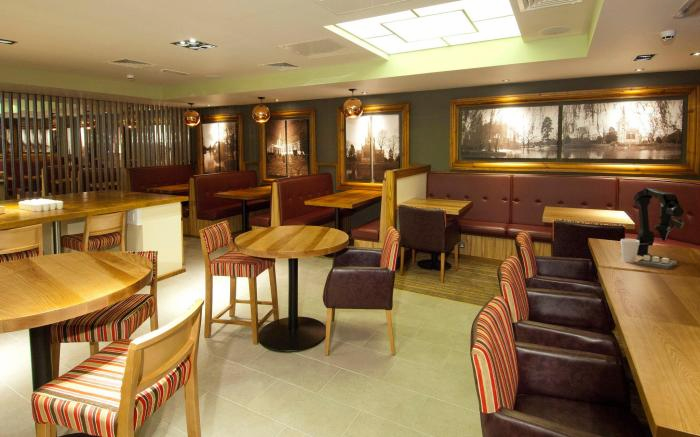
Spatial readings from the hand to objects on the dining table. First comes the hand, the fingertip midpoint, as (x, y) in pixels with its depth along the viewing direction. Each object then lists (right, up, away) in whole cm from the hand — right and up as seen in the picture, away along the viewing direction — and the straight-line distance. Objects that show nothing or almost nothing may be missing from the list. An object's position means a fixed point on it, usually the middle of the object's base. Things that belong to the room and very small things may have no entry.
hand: (664, 240), depth 254 cm
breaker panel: (-6, -14, -3) cm, 15 cm away
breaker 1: (-11, -11, -2) cm, 16 cm away
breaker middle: (-8, -12, -5) cm, 15 cm away
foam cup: (-18, -13, +5) cm, 23 cm away
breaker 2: (-5, -12, -8) cm, 16 cm away
